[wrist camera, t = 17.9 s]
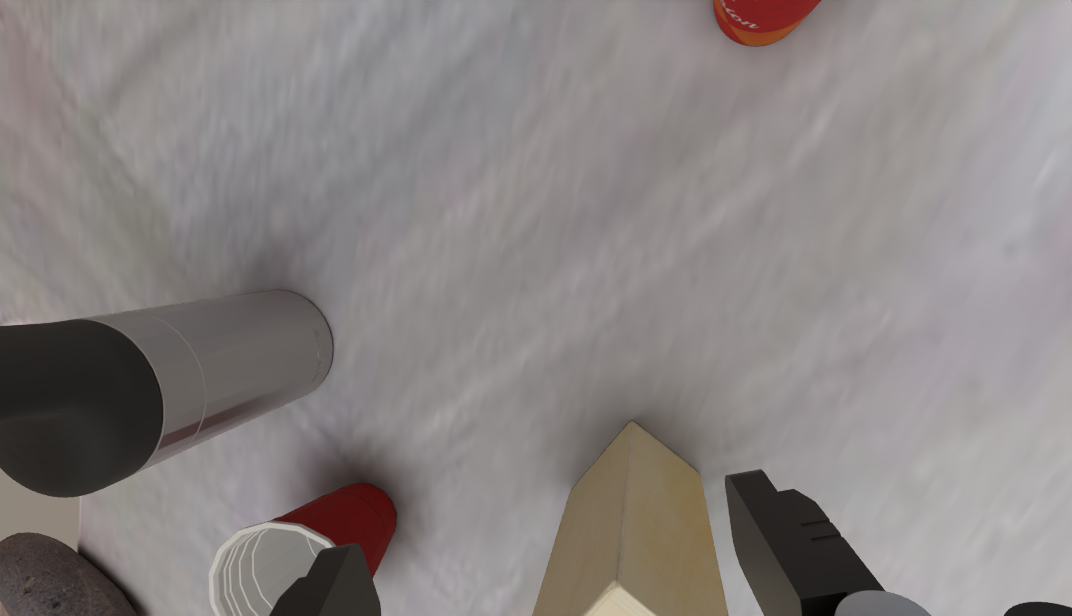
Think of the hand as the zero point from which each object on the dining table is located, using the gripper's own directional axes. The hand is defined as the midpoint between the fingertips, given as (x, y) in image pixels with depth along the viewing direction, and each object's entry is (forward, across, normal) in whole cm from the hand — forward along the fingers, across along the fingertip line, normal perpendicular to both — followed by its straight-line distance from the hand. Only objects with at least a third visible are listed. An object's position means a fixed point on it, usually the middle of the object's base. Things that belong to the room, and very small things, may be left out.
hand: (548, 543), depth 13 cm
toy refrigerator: (+29, +4, -18) cm, 34 cm away
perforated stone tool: (+37, -48, -22) cm, 65 cm away
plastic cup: (+32, -19, -19) cm, 42 cm away
